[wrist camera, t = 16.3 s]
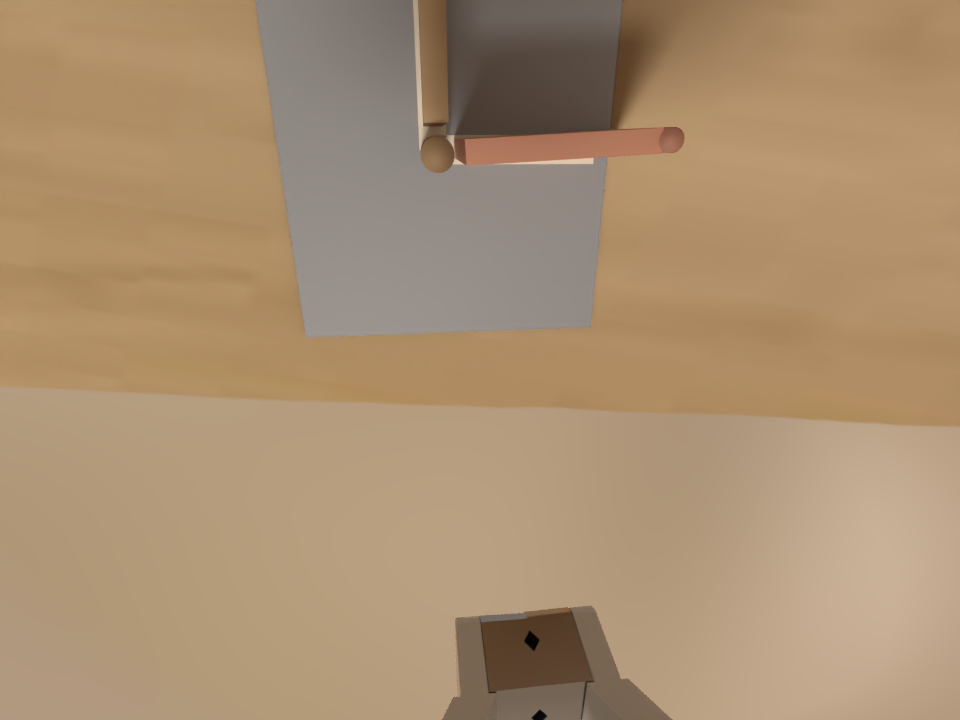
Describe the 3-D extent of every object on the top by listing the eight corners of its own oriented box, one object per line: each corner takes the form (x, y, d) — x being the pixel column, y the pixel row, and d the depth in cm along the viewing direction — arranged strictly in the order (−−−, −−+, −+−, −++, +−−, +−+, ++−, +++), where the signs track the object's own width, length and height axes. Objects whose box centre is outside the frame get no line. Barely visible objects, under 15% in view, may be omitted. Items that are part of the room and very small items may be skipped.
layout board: (306, 336, 38) (305, 337, 37) (246, -63, 28) (244, -66, 28) (589, 325, 40) (590, 327, 40) (625, -48, 30) (628, -51, 30)
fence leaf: (614, 148, 34) (682, 152, 25) (454, 158, 34) (466, 166, 24) (614, 129, 34) (685, 126, 25) (453, 138, 33) (465, 139, 24)
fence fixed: (421, 162, 34) (421, 173, 24) (412, -48, 29) (407, -145, 19) (445, 162, 34) (455, 172, 24) (440, -47, 29) (449, -143, 19)
